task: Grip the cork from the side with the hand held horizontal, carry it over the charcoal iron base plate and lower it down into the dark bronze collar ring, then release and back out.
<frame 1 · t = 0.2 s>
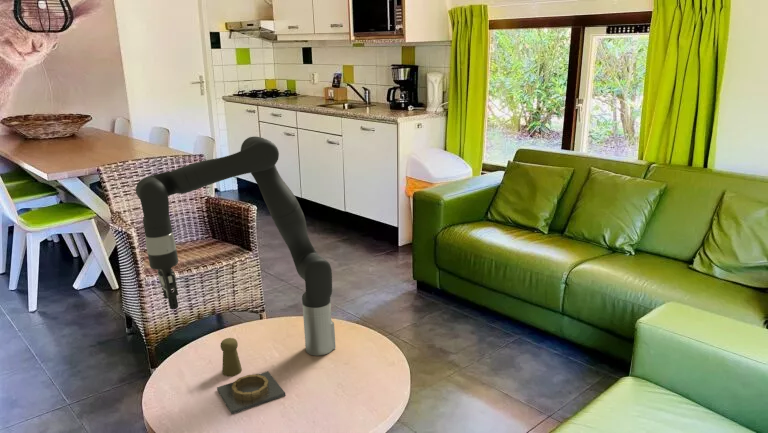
hand: (171, 303, 164), 29 cm above the table, tool pointing down, fingers open, 8 cm apart
collar plate: (251, 393, 170), on the table
cork: (232, 371, 182), on the table
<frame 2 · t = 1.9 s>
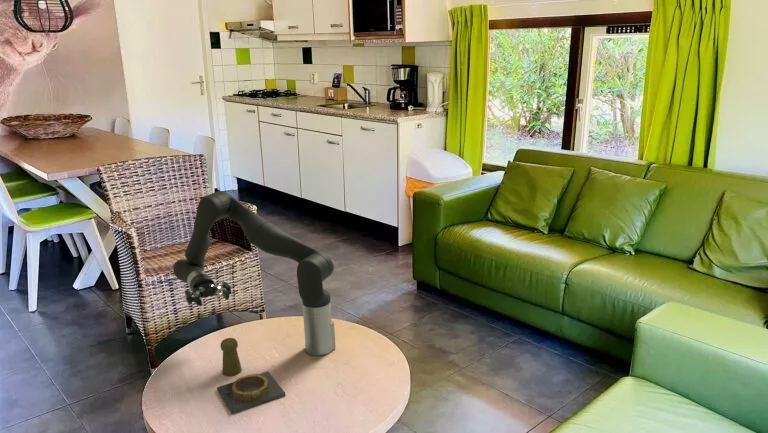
hand: (214, 300, 186), 20 cm above the table, tool horizontal, fingers open, 8 cm apart
nothing on the table moved.
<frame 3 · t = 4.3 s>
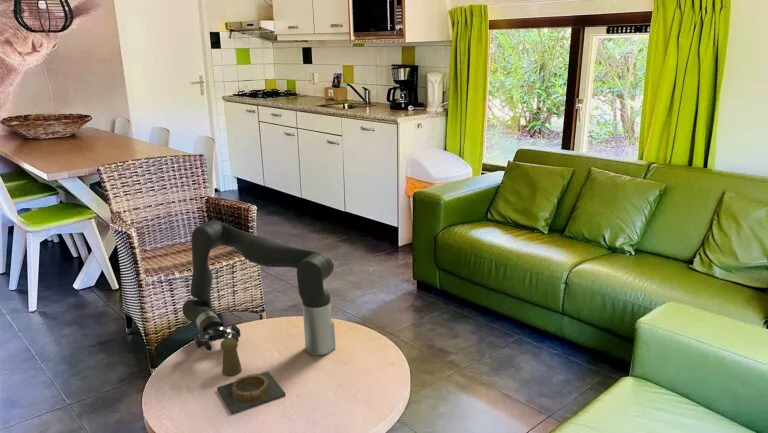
hand: (223, 344, 186), 6 cm above the table, tool horizontal, fingers open, 8 cm apart
nothing on the table moved.
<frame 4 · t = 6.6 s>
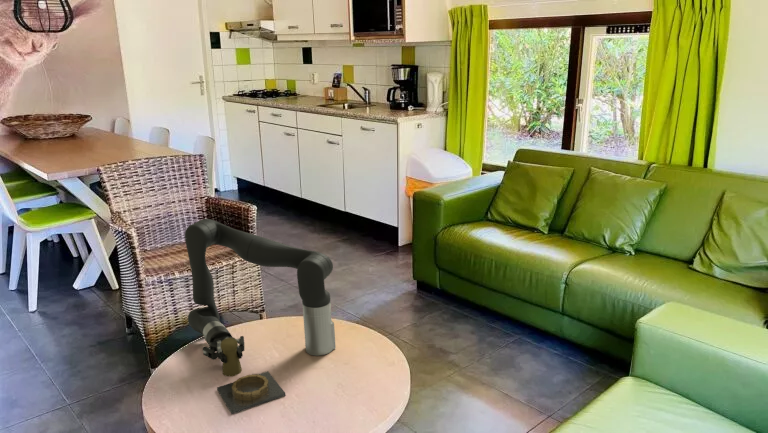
hand: (233, 358, 178), 6 cm above the table, tool horizontal, fingers closed on cork, 4 cm apart
cork: (232, 371, 182), on the table, touching gripper
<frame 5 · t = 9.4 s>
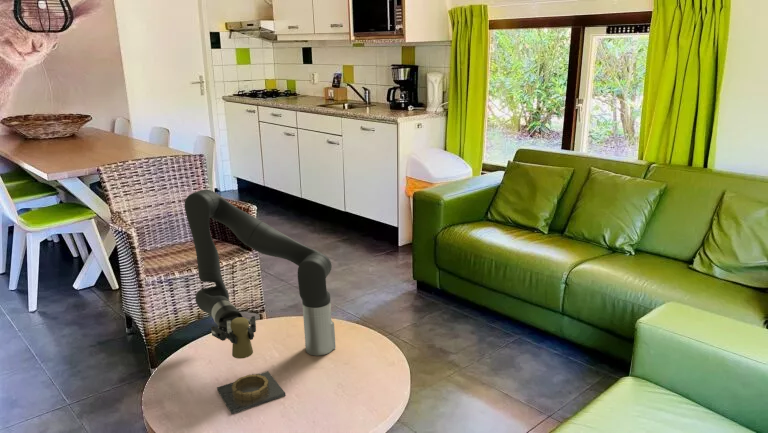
hand: (243, 338, 165), 18 cm above the table, tool horizontal, fingers closed on cork, 4 cm apart
cork: (242, 353, 170), point 12 cm above the table, touching gripper
when the fingers open (8 cm above the table, at t = 12.5 s): cork stays where it is, resting on collar plate.
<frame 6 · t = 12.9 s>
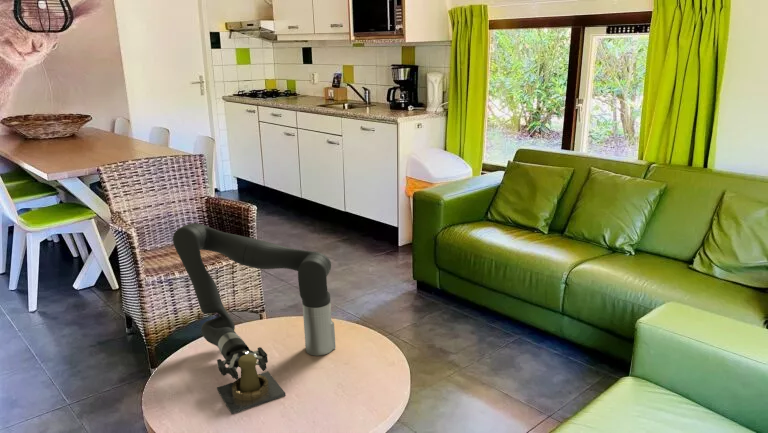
hand: (250, 372, 166), 8 cm above the table, tool horizontal, fingers open, 7 cm apart
cork: (250, 390, 170), point 1 cm above the table, touching collar plate
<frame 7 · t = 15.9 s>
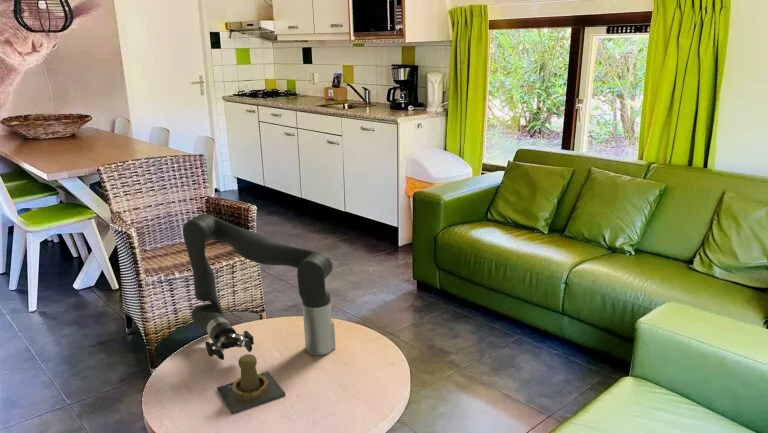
hand: (236, 353, 177), 8 cm above the table, tool horizontal, fingers open, 8 cm apart
nothing on the table moved.
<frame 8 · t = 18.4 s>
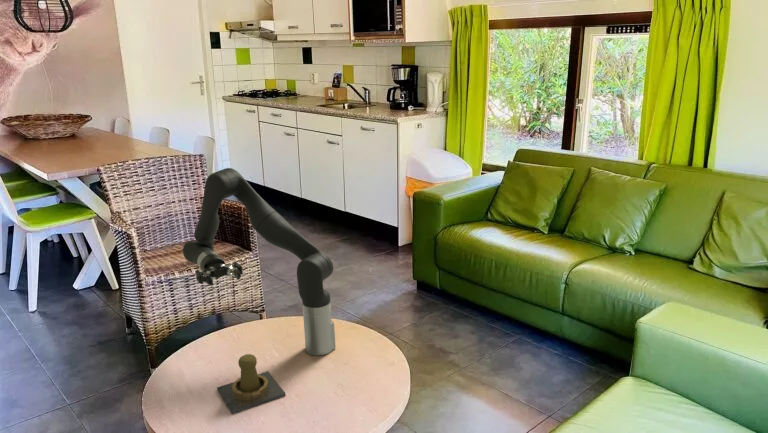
hand: (225, 279, 181), 28 cm above the table, tool horizontal, fingers open, 8 cm apart
nothing on the table moved.
at the end: cork 0.1 cm off-centre on the collar plate, point 0.8 cm above the collar plate's base; cork tilted 0°; the gripper is holding nothing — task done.
